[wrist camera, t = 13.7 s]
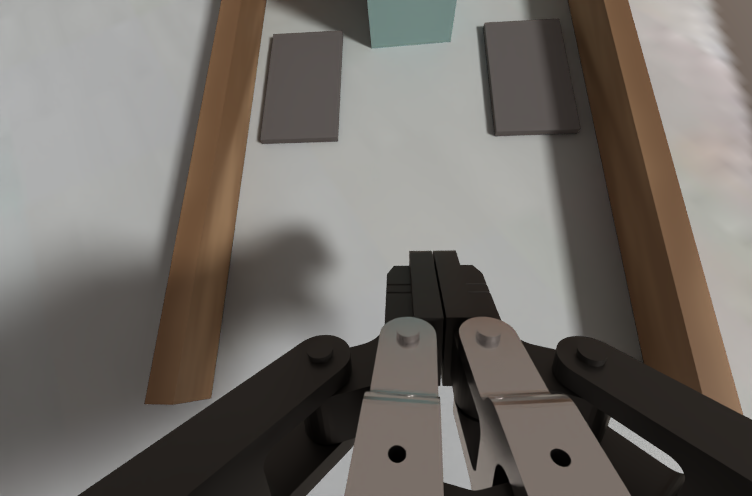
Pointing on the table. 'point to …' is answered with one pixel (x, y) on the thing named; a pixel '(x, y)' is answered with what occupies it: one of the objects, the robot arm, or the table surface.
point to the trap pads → (505, 70)
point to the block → (410, 22)
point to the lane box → (622, 174)
